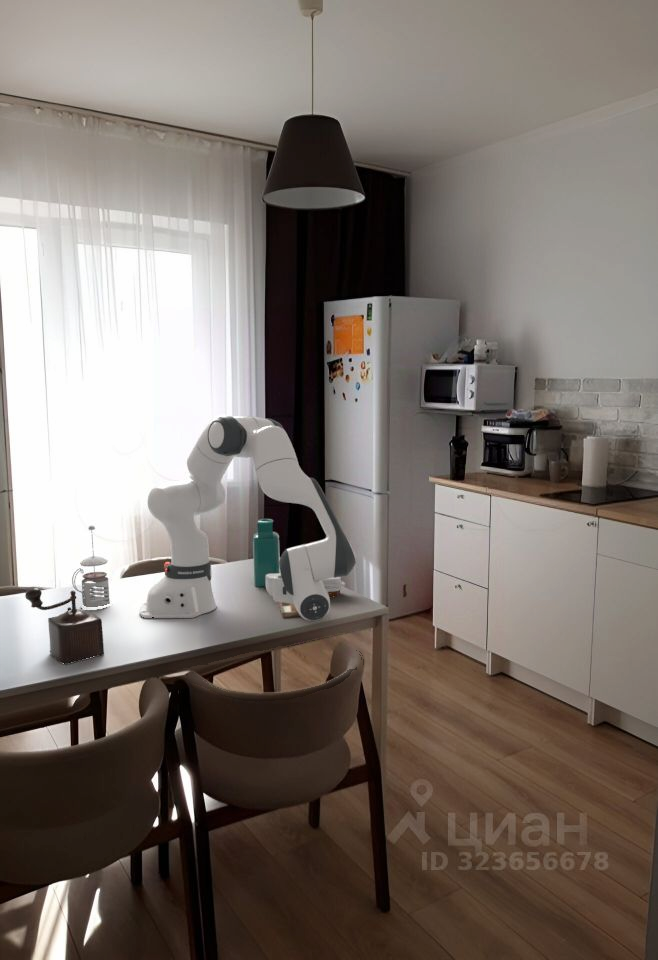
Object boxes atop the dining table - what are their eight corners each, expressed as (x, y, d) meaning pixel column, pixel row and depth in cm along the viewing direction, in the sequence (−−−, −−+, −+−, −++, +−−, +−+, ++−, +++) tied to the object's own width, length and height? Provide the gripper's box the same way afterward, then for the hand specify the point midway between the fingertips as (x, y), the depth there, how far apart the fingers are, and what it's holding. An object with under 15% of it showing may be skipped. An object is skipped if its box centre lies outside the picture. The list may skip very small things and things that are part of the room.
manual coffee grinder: (88, 643, 193) (84, 576, 190) (105, 654, 184) (100, 585, 182) (27, 657, 183) (22, 587, 181) (42, 670, 175) (36, 597, 172)
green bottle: (255, 580, 250) (253, 517, 247) (280, 579, 251) (278, 516, 248) (254, 588, 241) (251, 522, 238) (279, 587, 241) (278, 521, 238)
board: (282, 617, 210) (282, 612, 210) (276, 596, 231) (276, 592, 231) (318, 615, 212) (318, 610, 212) (309, 594, 233) (309, 590, 232)
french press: (118, 605, 225) (113, 525, 221) (81, 614, 217) (75, 531, 214) (105, 598, 232) (100, 521, 229) (69, 606, 225) (63, 526, 222)
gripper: (346, 575, 190) (337, 561, 204) (267, 578, 187) (264, 563, 201) (346, 598, 191) (337, 583, 205) (267, 601, 188) (264, 586, 202)
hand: (300, 573), depth 203 cm, fingers open, 8 cm apart
